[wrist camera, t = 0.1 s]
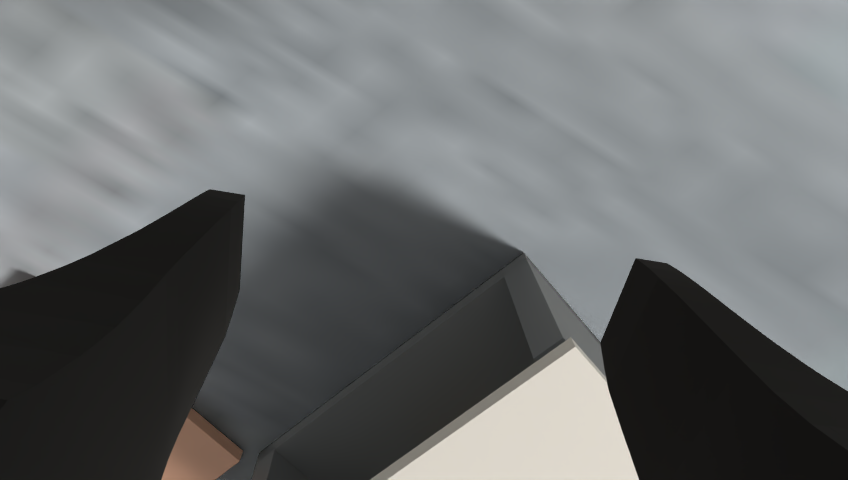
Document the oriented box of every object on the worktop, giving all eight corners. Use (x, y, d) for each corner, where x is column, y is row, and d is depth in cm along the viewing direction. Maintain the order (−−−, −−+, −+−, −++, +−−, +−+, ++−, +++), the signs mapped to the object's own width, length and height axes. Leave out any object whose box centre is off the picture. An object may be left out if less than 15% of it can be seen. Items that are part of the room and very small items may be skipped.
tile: (77, 577, 28) (71, 588, 28) (-132, 433, 25) (-144, 443, 25) (242, 450, 26) (239, 461, 26) (36, 277, 23) (27, 284, 23)
